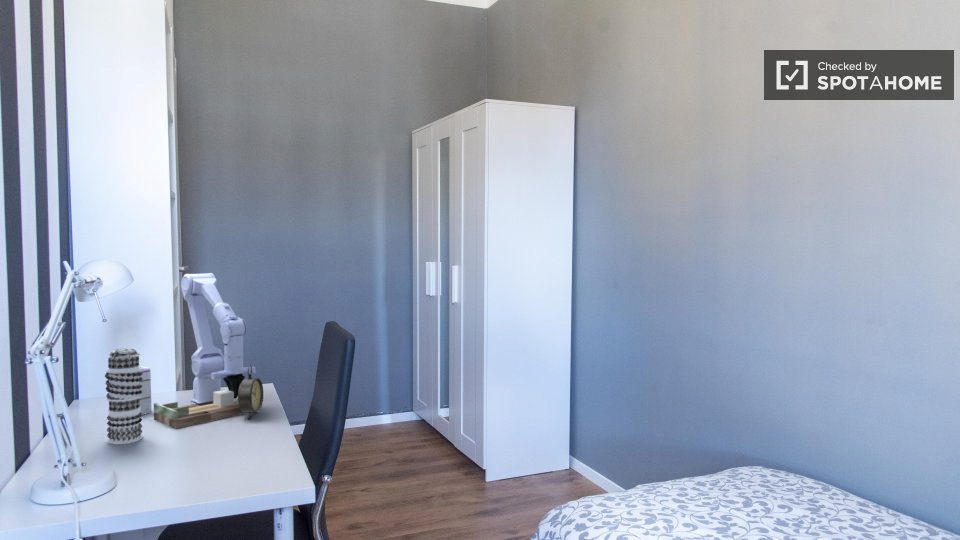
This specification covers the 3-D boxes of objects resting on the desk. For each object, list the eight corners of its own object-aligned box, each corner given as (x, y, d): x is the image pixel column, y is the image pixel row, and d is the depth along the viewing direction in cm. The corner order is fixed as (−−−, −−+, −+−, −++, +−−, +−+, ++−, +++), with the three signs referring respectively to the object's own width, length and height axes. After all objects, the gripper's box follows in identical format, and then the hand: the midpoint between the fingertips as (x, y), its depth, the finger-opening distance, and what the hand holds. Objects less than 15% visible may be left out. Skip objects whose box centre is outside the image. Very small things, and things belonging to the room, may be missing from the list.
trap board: (153, 419, 202) (153, 403, 202) (227, 404, 220) (227, 390, 220) (175, 428, 193) (175, 411, 193) (249, 412, 211) (249, 397, 211)
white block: (213, 404, 212) (213, 392, 211) (226, 401, 215) (226, 389, 215) (220, 406, 209) (220, 394, 209) (233, 404, 212) (233, 391, 212)
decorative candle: (104, 446, 176) (102, 353, 175) (107, 436, 185) (106, 348, 183) (142, 442, 180) (141, 351, 179) (144, 433, 188) (143, 346, 187)
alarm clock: (252, 420, 202) (252, 368, 201) (234, 420, 202) (234, 368, 201) (264, 411, 213) (264, 361, 212) (248, 411, 213) (247, 361, 212)
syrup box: (152, 412, 210) (151, 367, 209) (134, 416, 205) (133, 370, 204) (142, 409, 213) (141, 365, 212) (124, 413, 208) (123, 368, 207)
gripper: (219, 361, 206) (219, 404, 207) (260, 355, 217) (260, 395, 218) (207, 358, 210) (208, 400, 211) (248, 352, 221) (249, 392, 222)
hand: (234, 397), depth 215 cm, fingers closed
